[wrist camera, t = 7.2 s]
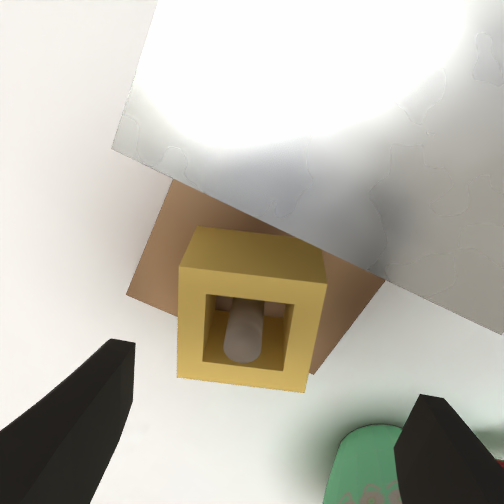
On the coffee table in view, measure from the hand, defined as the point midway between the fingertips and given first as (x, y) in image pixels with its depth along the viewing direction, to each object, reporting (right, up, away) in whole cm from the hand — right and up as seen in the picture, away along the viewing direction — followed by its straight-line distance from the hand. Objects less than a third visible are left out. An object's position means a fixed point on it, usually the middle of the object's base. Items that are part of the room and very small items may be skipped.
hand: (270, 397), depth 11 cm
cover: (+3, +10, +6) cm, 12 cm away
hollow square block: (0, +2, +8) cm, 9 cm away
